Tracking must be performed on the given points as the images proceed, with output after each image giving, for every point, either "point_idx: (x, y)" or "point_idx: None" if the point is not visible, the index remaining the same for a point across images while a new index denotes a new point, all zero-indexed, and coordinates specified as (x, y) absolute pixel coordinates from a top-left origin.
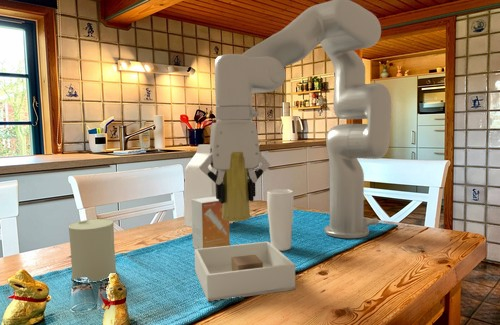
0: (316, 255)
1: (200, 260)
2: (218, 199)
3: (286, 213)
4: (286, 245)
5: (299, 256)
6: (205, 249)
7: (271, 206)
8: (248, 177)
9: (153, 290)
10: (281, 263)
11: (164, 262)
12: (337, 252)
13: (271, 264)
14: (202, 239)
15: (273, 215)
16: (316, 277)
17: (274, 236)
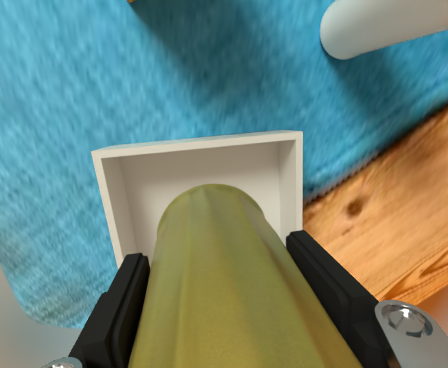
0: (391, 112)
1: (113, 240)
2: (126, 257)
3: (443, 30)
4: (355, 56)
5: (356, 108)
6: (124, 155)
7: None
8: (383, 350)
9: (33, 228)
10: (289, 233)
11: (19, 56)
12: (440, 104)
13: (279, 168)
14: None
15: (394, 11)
16: (335, 225)
17: (343, 37)
